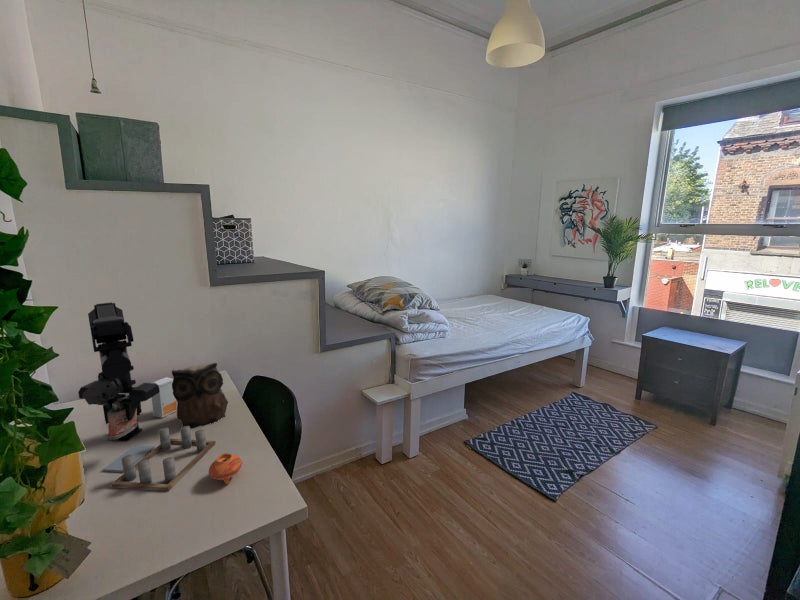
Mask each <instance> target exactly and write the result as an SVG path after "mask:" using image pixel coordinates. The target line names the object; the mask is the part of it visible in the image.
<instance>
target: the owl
mask: <svg viewBox="0 0 800 600" xmlns="http://www.w3.org/2000/svg"><path fill="white" fill-rule="evenodd" d="M217 366H218V363H217V362H212V363H207V364H206V363H205V364H199V365H193V366H188V367H185V368H181V369H177V370H176V369H172V370H171V375H172V379H173V382H172V389H173V395H174V397H175V399H176V400H177V411H176V418H177V420H179V421H180V422H181V424H182V425H181V428H182V427H184V426H190V430H191V429H196V428H199V427H205V426H207V425H213V424H215V423H218V422H219V421H220V420H222V419H224V418H226V412H227V406H228V404H229V401H228V399H227V397H226V396H225V393H224V392H223V389H222V386H223V385H224V379H223V376H222V374H221V373H220V371H219V369H218V368H217ZM223 417H224V418H223ZM221 418H222V419H221ZM218 420H219V421H218ZM214 422H215V423H214ZM210 423H211V424H210ZM212 423H213V424H212Z"/></svg>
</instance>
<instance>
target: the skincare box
mask: <svg viewBox="0 0 800 600" xmlns="http://www.w3.org/2000/svg"><path fill="white" fill-rule="evenodd" d="M172 382H173V377H172V378H171V377H167V376H166V377H163V378H161V379H158V380H156V381H153V382H152V383H156V384H158V385H159V390H160V392H159V393H158V394H156V395H154V396H153V397H151V402H152V412H153V417H157V418H161V419H162V418H164V417H167V416H169V415H172V414H173V413H175V412H177V405H178V403H177V400H176V399H175V397H174V395H173V389H172Z"/></svg>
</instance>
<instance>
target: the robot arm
mask: <svg viewBox="0 0 800 600" xmlns="http://www.w3.org/2000/svg"><path fill="white" fill-rule="evenodd" d="M93 307H94V308H93V309H92V310H90V312H88V314H87V316H88V322H89V328H90V335H91V340H92V348H93V352H94V353H97V352H98V353H99V359H100V364H101V365H100V366H101V372H98V375H97V380H94V381H91V382H90V383H87V384H85V385H83V386H81V387H80V388H79V390H78V398H79V400H81V399H82V400H85V402H86V403H87V404H88V405H89V406H91V405H98V406H102V410H103V416H104V421H105V425H109V424H108V416H107V412H108V411H109V410H111V409H112V403H114V402H116V401H117V399H119V398H124V397H125V399H124V400H122V401H120V403H122V404H124V406H125V411H126V416H127V419H128V421H130V420H132V419H133V416H134V414H135V411H136V409H137V416H140V414H141V413H143V412H142V405H141V404H142V403H144V402H147V401H149V399H152V397H153V396H154V395H156V394H158V393H159V392H160V390H159V385H158V384H156V383H153V382H143V383H142V384H140V385H138V386H133V385H135V384H137V381H136V379H132V376H131V375H132V374H131V371H133V370H135V369H134V365H132V362H131V359H130V356H129V353H128V347H132V346H133V343H132V342H134V336H133V335H134V334H133V331H132V326H131V325H130V323H129V322H128V321H125V317H124V312H123V309H121V308H119V307H117V306H116V303H115V302H112V301H111V302H103V303H96V304H94V305H93ZM137 422H138V423H139V420H138V419H137ZM139 426H140V425H139V424H138V426H137V427H136V428H135V429H134V430H132V431H131V432H129V433H127V434H126V435H124V436H122V437H120V438H118V439H114V440H113V441H118V442H119V441H121V442H126V441H129V440H130V439H132V438H133V437H135V436H136V435H137V434H139V433H140V432H142V431H143V428H142V427H139ZM107 441H111V440H110V439H108V437H107Z"/></svg>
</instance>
